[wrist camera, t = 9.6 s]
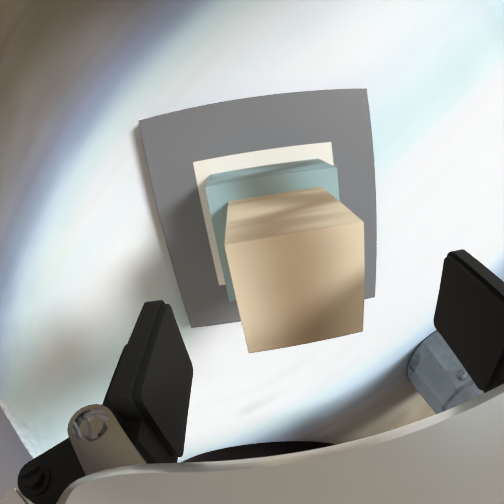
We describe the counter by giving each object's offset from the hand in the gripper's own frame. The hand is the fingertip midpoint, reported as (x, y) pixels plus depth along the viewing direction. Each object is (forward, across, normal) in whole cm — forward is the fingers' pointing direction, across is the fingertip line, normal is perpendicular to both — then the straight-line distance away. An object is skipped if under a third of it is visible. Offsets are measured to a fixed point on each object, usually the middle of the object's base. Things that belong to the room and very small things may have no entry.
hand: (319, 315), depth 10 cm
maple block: (+8, 0, +1) cm, 8 cm away
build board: (+13, 0, +1) cm, 13 cm away
